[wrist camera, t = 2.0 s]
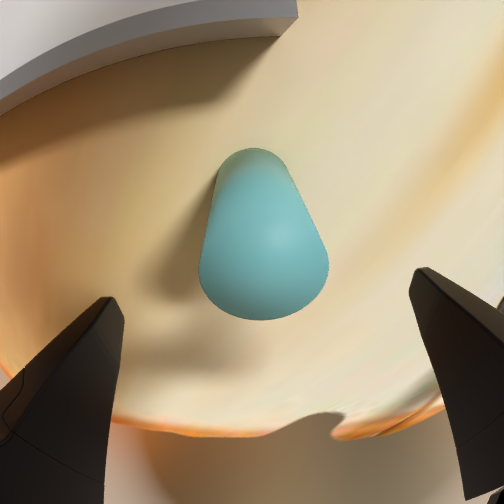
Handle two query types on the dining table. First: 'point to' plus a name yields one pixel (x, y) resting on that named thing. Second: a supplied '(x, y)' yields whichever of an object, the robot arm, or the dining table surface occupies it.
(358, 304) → the dining table surface
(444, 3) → the dining table surface
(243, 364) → the dining table surface
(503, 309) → the lantern
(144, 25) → the box
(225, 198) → the peg
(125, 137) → the dining table surface
